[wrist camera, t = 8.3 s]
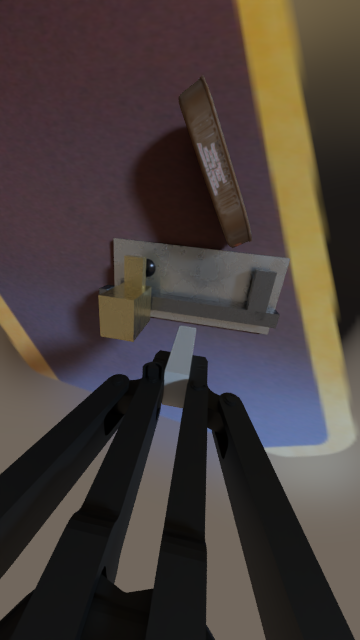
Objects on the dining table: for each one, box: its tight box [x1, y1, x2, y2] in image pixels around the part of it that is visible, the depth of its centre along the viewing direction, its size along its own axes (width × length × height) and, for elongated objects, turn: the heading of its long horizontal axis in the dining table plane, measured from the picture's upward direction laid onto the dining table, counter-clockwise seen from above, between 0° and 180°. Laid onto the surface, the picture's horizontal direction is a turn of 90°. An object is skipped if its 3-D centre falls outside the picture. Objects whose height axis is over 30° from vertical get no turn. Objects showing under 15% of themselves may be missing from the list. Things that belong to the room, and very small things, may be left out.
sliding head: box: [98, 255, 152, 342], centre depth 26 cm, size 9×4×9 cm, turn 174°
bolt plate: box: [114, 238, 290, 334], centre depth 30 cm, size 11×24×1 cm, turn 84°
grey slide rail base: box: [99, 269, 279, 328], centre depth 27 cm, size 8×24×5 cm, turn 84°
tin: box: [179, 76, 252, 248], centre depth 21 cm, size 15×3×8 cm, turn 23°
